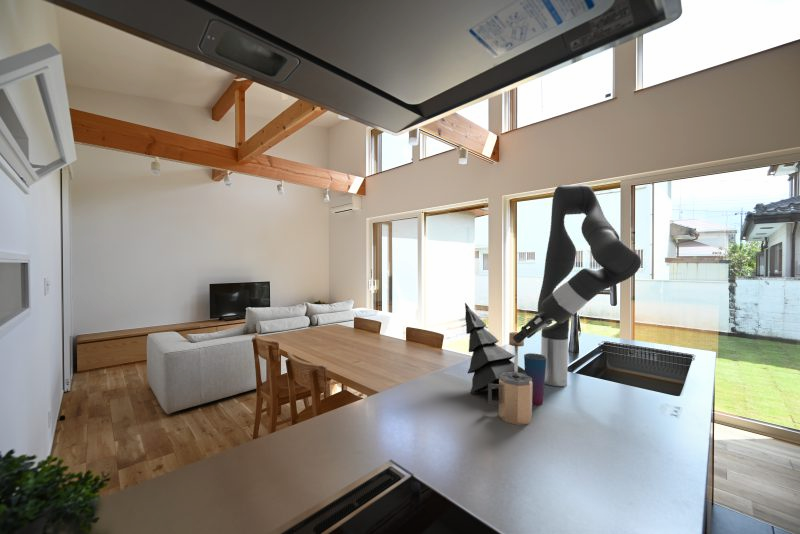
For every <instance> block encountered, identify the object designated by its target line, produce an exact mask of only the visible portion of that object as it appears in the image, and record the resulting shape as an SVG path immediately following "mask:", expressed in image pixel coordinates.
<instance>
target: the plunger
mask: <svg viewBox="0 0 800 534" xmlns="http://www.w3.org/2000/svg"><path fill="white" fill-rule="evenodd" d="M517 333H518V332H515V331H512V332H509V334H508V335H509V338H508V339H509V340H508V345H509V346H513V347H514V356H515V357H514V358H513V359H514V362H513V363H514V378H517V373H518V366H519V364H518V363H519V362H518V361H519V358H518V357H519V347H524V346H525V345H524V344H525V343H524V342H525V339H524V340H523V341H521V342H520V343H516V342H515V340H514V339H513V337H514V336H515V335H516V334H517Z"/></svg>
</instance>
